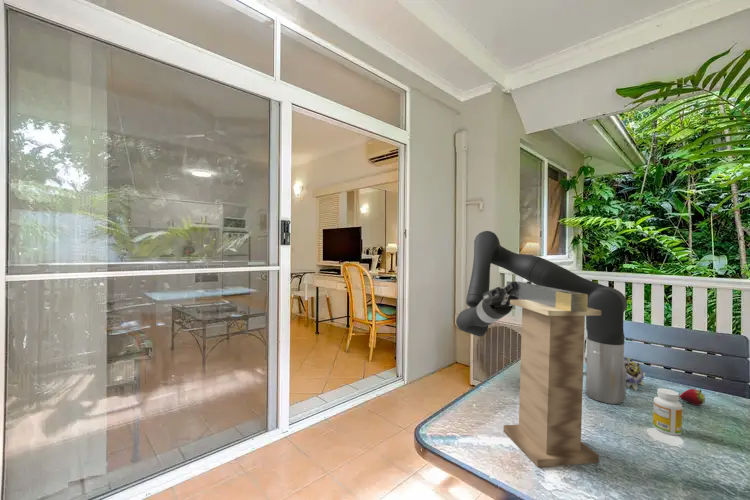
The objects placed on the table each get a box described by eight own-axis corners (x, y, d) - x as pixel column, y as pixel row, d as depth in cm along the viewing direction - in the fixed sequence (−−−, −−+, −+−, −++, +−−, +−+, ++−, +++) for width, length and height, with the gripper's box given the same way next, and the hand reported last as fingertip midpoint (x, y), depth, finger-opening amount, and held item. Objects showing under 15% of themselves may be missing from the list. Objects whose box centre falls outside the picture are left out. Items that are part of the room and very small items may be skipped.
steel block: (518, 294, 90) (518, 281, 90) (587, 311, 66) (587, 294, 66) (505, 294, 90) (506, 281, 90) (570, 311, 66) (571, 294, 66)
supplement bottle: (674, 426, 84) (675, 388, 84) (686, 438, 79) (687, 397, 79) (648, 422, 86) (650, 385, 86) (658, 433, 81) (660, 394, 81)
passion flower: (633, 406, 106) (627, 381, 102) (599, 386, 116) (593, 363, 112) (655, 384, 109) (650, 359, 104) (620, 367, 119) (614, 343, 114)
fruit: (684, 398, 101) (684, 382, 101) (709, 407, 95) (710, 390, 95) (675, 400, 100) (676, 383, 99) (700, 409, 94) (701, 392, 94)
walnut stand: (554, 427, 82) (558, 299, 82) (600, 463, 69) (605, 310, 68) (502, 430, 80) (506, 299, 80) (539, 468, 66) (543, 310, 66)
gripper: (469, 295, 101) (494, 271, 86) (511, 295, 103) (544, 272, 88) (473, 319, 97) (501, 298, 82) (518, 319, 99) (552, 298, 84)
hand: (523, 284), depth 85 cm, fingers closed on steel block, 3 cm apart
